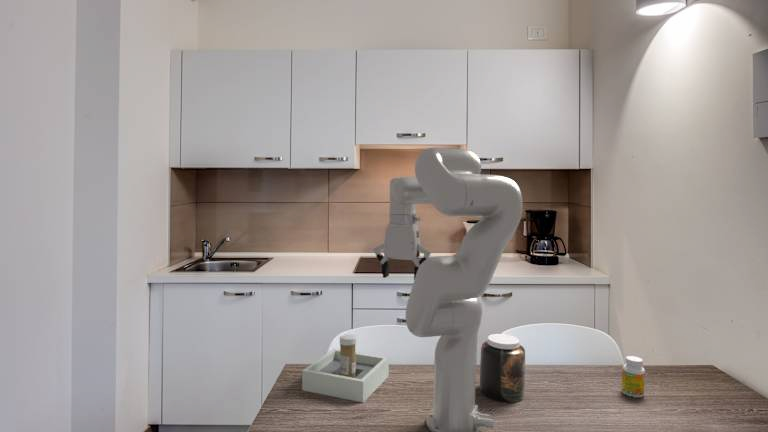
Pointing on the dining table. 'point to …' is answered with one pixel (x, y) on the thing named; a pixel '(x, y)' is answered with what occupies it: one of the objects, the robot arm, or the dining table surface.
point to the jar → (502, 368)
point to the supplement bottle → (633, 377)
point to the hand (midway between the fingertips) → (401, 278)
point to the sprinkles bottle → (347, 355)
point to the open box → (329, 381)
